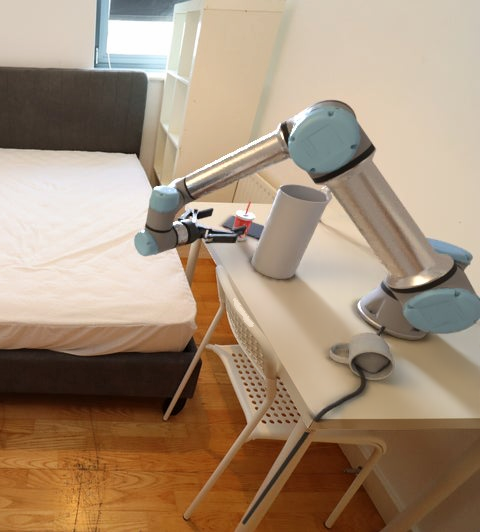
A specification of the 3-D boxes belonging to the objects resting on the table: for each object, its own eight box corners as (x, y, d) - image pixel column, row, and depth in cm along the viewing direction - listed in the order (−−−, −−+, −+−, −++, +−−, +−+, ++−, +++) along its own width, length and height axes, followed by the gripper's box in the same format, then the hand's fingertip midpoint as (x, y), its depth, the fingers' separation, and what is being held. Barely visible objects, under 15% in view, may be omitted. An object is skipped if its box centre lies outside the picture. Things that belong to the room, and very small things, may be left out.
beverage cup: (247, 243, 128) (260, 206, 120) (228, 239, 129) (241, 202, 121) (246, 235, 133) (259, 199, 125) (228, 231, 134) (240, 195, 126)
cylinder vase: (296, 284, 109) (334, 206, 95) (251, 274, 112) (281, 197, 98) (290, 262, 119) (324, 189, 105) (249, 254, 122) (277, 181, 108)
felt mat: (263, 240, 130) (263, 239, 130) (222, 226, 138) (222, 225, 137) (272, 229, 137) (272, 229, 137) (232, 216, 145) (232, 215, 145)
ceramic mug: (378, 360, 85) (396, 336, 81) (383, 385, 79) (402, 361, 75) (326, 343, 89) (340, 319, 85) (327, 366, 83) (342, 341, 79)
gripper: (151, 226, 123) (196, 215, 133) (208, 265, 106) (255, 248, 116) (155, 206, 119) (202, 195, 128) (215, 242, 102) (263, 227, 111)
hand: (227, 220), depth 122 cm, fingers open, 13 cm apart
